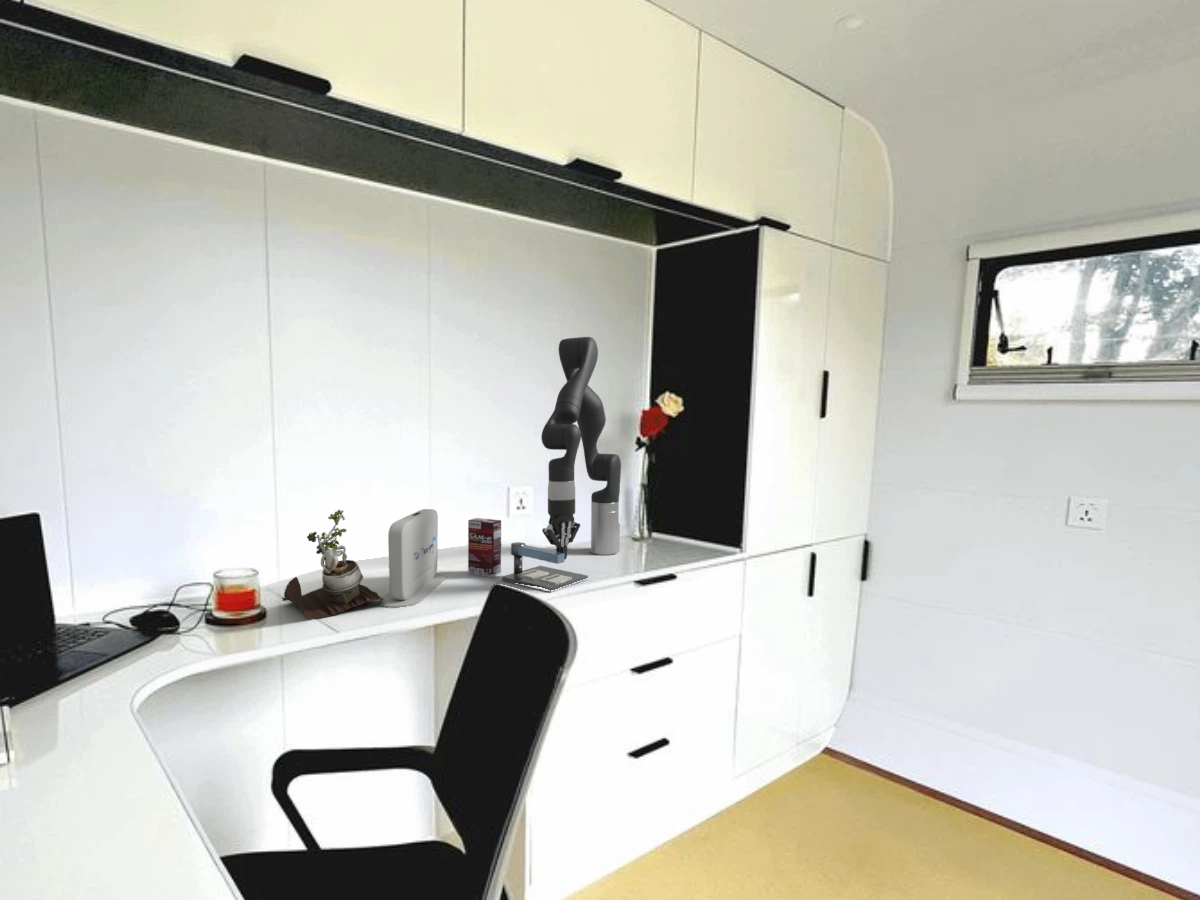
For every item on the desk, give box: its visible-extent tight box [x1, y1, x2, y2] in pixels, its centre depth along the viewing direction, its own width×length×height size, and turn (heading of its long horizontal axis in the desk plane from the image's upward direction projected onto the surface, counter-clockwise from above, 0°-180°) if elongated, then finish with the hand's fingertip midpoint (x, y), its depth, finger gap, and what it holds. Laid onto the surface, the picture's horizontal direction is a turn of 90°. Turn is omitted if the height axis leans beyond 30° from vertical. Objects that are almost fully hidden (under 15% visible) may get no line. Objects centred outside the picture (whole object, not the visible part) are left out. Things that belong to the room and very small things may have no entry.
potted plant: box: [281, 509, 385, 620], centre depth 150 cm, size 20×19×25 cm
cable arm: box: [510, 541, 565, 565], centre depth 176 cm, size 19×4×3 cm, turn 49°
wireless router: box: [378, 508, 448, 609], centre depth 166 cm, size 31×10×20 cm, turn 177°
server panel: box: [501, 556, 589, 591], centre depth 177 cm, size 16×19×6 cm
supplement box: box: [467, 517, 502, 578], centre depth 183 cm, size 9×5×16 cm, turn 68°
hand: (561, 559), depth 174 cm, fingers closed
